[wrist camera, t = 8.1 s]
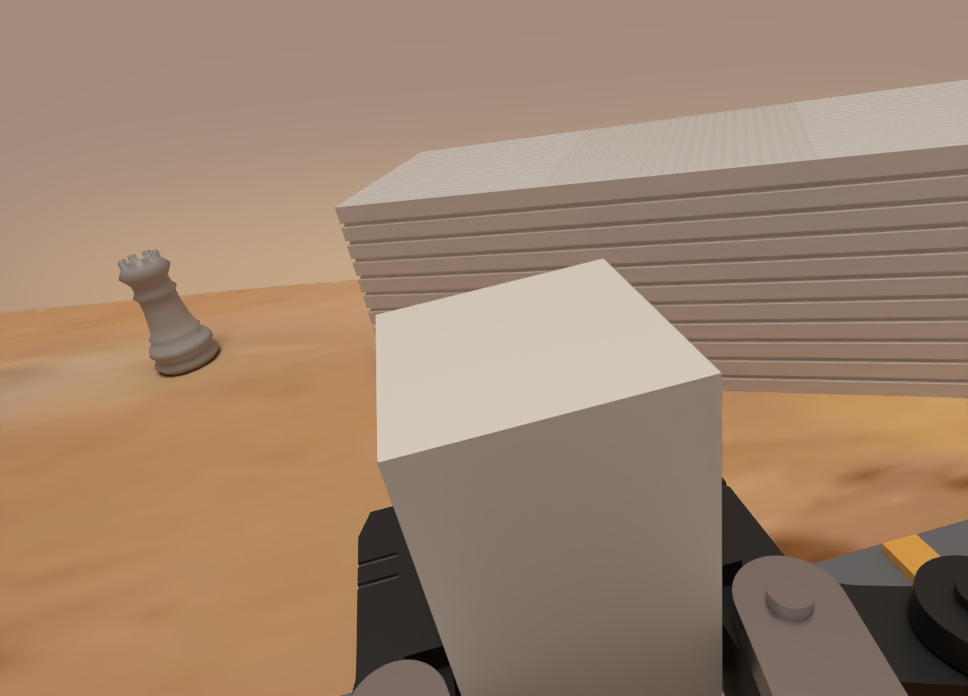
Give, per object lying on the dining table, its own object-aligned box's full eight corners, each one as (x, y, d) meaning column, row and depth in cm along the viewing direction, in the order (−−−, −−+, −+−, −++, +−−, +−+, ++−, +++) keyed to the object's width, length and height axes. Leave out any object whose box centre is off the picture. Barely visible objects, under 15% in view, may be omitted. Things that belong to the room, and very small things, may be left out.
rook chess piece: (179, 348, 46) (129, 249, 42) (232, 342, 45) (186, 240, 41) (144, 380, 42) (85, 275, 38) (201, 374, 41) (147, 265, 37)
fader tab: (485, 1082, 10) (161, 612, 4) (449, 753, 14) (270, 312, 8) (840, 969, 10) (989, 389, 4) (697, 682, 14) (679, 211, 9)
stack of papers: (391, 384, 36) (334, 206, 30) (457, 301, 44) (421, 151, 39) (1108, 406, 23) (1217, 118, 18) (1009, 286, 32) (1063, 66, 27)
